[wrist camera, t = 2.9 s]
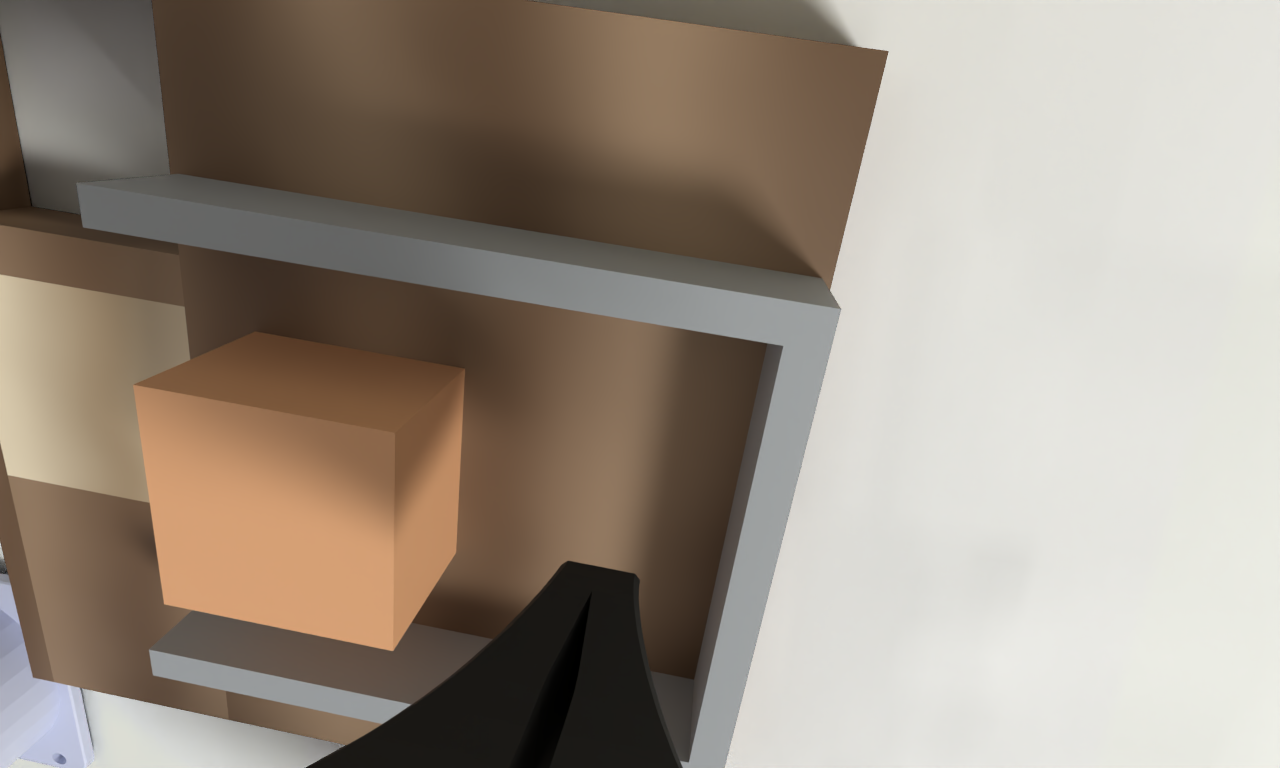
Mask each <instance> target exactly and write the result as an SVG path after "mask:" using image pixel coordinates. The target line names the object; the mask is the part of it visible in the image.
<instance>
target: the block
mask: <svg viewBox="0 0 1280 768" xmlns="http://www.w3.org/2000/svg"><path fill="white" fill-rule="evenodd" d="M464 380H465V368H459V367H453V366H448V365H442V364H436V363H431V362H425V361H419V360H414V359H408V358H402V357H397V356H391V355H385V354H380V353H374V352H368V351H363V350H357V349H351V348H346V347H340V346H334V345H329V344H323V343H317V342H312V341H306V340H300V339H295V338H289V337H283V336H278V335H272V334H266V333H261V332H253V333H251V334H248V335H246V336H244V337H242V338H239V339H237V340H235V341H232V342H230V343H228V344H225V345H223V346H221V347H219V348H216V349H214V350H212V351H209V352H207V353H205V354H203V355H200V356H198V357H196V358H193V359H191V360H189V361H186V362H184V363H182V364H180V365H177V366H175V367H173V368H170V369H168V370H166V371H163V372H161V373H159V374H157V375H154V376H152V377H150V378H147V379H145V380H143V381H140V382H138V383H136V384H134V385H133V388H134V395H135V402H136V409H137V417H138V424H139V431H140V438H141V445H142V452H143V459H144V466H145V473H146V480H147V487H148V494H149V501H150V508H151V515H152V522H153V529H154V536H155V544H156V551H157V558H158V565H159V572H160V579H161V586H162V593H163V600H164V604H165V605H170V606H175V607H180V608H185V609H190V610H195V611H199V612H204V613H209V614H214V615H219V616H224V617H229V618H234V619H238V620H243V621H248V622H253V623H258V624H263V625H268V626H273V627H278V628H282V629H287V630H292V631H297V632H302V633H307V634H312V635H317V636H321V637H326V638H331V639H336V640H341V641H346V642H351V643H356V644H360V645H365V646H370V647H375V648H380V649H385V650H390V651H394V649H395V647H396V646H397V644H398V643H399V641H400V640H401V638H402V636H403V635H404V633H405V632H406V630H407V629H408V627H409V626H410V624H411V622H412V621H413V619H414V618H415V616H416V615H417V613H418V611H419V610H420V608H421V607H422V605H423V604H424V602H425V601H426V599H427V597H428V596H429V594H430V593H431V591H432V590H433V588H434V586H435V585H436V583H437V582H438V580H439V579H440V577H441V576H442V574H443V572H444V571H445V569H446V568H447V566H448V565H449V563H450V561H451V560H452V558H453V557H454V555H455V554H456V544H457V524H458V503H459V483H460V462H461V442H462V421H463V401H464Z"/></svg>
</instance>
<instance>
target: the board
mask: <svg viewBox="0 0 1280 768" xmlns="http://www.w3.org/2000/svg"><path fill="white" fill-rule="evenodd" d="M152 9H153V18H154V27H155V37H156V46H157V55H158V64H159V74H160V83H161V92H162V102H163V111H164V120H165V130H166V139H167V148H168V158H169V167H170V175H171V174H183V175H189V176H196V177H202V178H208V179H214V180H220V181H226V182H232V183H239V184H245V185H251V186H257V187H263V188H269V189H276V190H282V191H288V192H294V193H300V194H306V195H313V196H319V197H325V198H331V199H337V200H343V201H349V202H356V203H362V204H368V205H374V206H380V207H386V208H393V209H399V210H405V211H411V212H417V213H423V214H429V215H436V216H442V217H448V218H454V219H460V220H466V221H473V222H479V223H485V224H491V225H497V226H503V227H509V228H516V229H522V230H528V231H534V232H540V233H546V234H553V235H559V236H565V237H571V238H577V239H583V240H589V241H596V242H602V243H608V244H614V245H620V246H626V247H633V248H639V249H645V250H651V251H657V252H663V253H669V254H676V255H682V256H688V257H694V258H700V259H706V260H713V261H719V262H725V263H731V264H737V265H743V266H749V267H756V268H762V269H768V270H774V271H780V272H786V273H793V274H799V275H805V276H811V277H817V278H823V280H824V282H825V283H826V285H827V287H828V288H829V290H830V288H831V284H832V279H833V275H834V271H835V267H836V263H837V259H838V255H839V251H840V247H841V243H842V239H843V235H844V231H845V227H846V222H847V218H848V214H849V210H850V206H851V202H852V198H853V194H854V190H855V186H856V182H857V178H858V174H859V169H860V165H861V161H862V157H863V153H864V149H865V145H866V141H867V137H868V133H869V129H870V125H871V121H872V117H873V112H874V108H875V104H876V100H877V96H878V92H879V88H880V84H881V80H882V76H883V72H884V68H885V64H886V59H887V55H888V51H883V50H876V49H869V48H862V47H854V46H847V45H840V44H833V43H826V42H819V41H812V40H805V39H798V38H791V37H783V36H776V35H769V34H762V33H755V32H748V31H741V30H734V29H727V28H719V27H712V26H705V25H698V24H691V23H684V22H677V21H670V20H663V19H655V18H648V17H641V16H634V15H627V14H620V13H613V12H606V11H599V10H592V9H584V8H577V7H570V6H563V5H556V4H549V3H542V2H535V1H528V0H152ZM253 332H261V333H266V334H272V335H278V336H283V337H289V338H295V339H300V340H306V341H312V342H317V343H323V344H329V345H334V346H340V347H346V348H351V349H357V350H363V351H368V352H374V353H380V354H385V355H391V356H397V357H402V358H408V359H414V360H419V361H425V362H431V363H436V364H442V365H448V366H453V367H459V368H465V380H464V401H463V421H462V442H461V462H460V483H459V503H458V524H457V544H456V554H455V555H454V557H453V558H452V560H451V561H450V563H449V565H448V566H447V568H446V569H445V571H444V572H443V574H442V576H441V577H440V579H439V580H438V582H437V583H436V585H435V586H434V588H433V590H432V591H431V593H430V594H429V596H428V597H427V599H426V601H425V602H424V604H423V605H422V607H421V608H420V610H419V611H418V613H417V615H416V616H415V618H414V619H413V621H412V622H411V623H415V624H420V625H425V626H430V627H435V628H440V629H445V630H450V631H455V632H460V633H465V634H470V635H475V636H479V637H484V638H489V639H494V638H495V637H496V636H497V635H498V634H499V633H500V632H501V631H502V630H503V629H504V628H505V627H506V626H507V625H508V624H509V623H510V622H511V621H512V620H513V619H514V618H515V617H516V616H517V615H518V614H519V613H520V612H521V611H522V610H523V609H524V608H525V607H526V606H527V605H528V604H529V603H530V602H531V601H532V600H533V598H534V597H535V596H536V595H537V594H538V593H539V592H540V591H541V590H542V588H543V587H544V586H545V585H546V584H547V582H548V581H549V580H550V579H551V578H552V576H553V575H554V574H555V573H556V571H557V570H558V569H559V567H560V566H561V565H562V564H563V563H565V562H567V561H573V562H579V563H584V564H589V565H594V566H599V567H604V568H609V569H614V570H619V571H624V572H630V573H635V574H636V575H637V577H638V578H639V579H640V584H639V609H640V618H641V627H642V633H643V639H644V644H645V649H646V653H647V658H648V663H649V667H650V671H653V672H658V673H663V674H668V675H673V676H678V677H683V678H688V679H693V680H694V678H695V673H696V669H697V664H698V660H699V655H700V651H701V646H702V641H703V637H704V632H705V628H706V623H707V618H708V614H709V609H710V605H711V600H712V595H713V591H714V586H715V582H716V577H717V572H718V568H719V563H720V559H721V554H722V549H723V545H724V540H725V536H726V531H727V527H728V522H729V517H730V513H731V508H732V504H733V499H734V494H735V490H736V485H737V481H738V476H739V471H740V467H741V462H742V458H743V453H744V448H745V444H746V439H747V435H748V430H749V425H750V421H751V416H752V412H753V407H754V403H755V398H756V393H757V389H758V384H759V380H760V375H761V370H762V366H763V361H764V357H765V352H766V347H767V343H763V342H757V341H751V340H745V339H739V338H733V337H728V336H722V335H716V334H710V333H704V332H698V331H692V330H686V329H680V328H674V327H669V326H663V325H657V324H651V323H645V322H639V321H633V320H627V319H621V318H615V317H609V316H604V315H598V314H592V313H586V312H580V311H574V310H568V309H562V308H556V307H550V306H544V305H539V304H533V303H527V302H521V301H515V300H509V299H503V298H497V297H491V296H485V295H480V294H474V293H468V292H462V291H456V290H450V289H444V288H438V287H432V286H426V285H420V284H415V283H409V282H403V281H397V280H391V279H385V278H379V277H373V276H367V275H361V274H355V273H350V272H344V271H338V270H332V269H326V268H320V267H314V266H308V265H302V264H296V263H291V262H285V261H279V260H273V259H267V258H261V257H255V256H249V255H243V254H237V253H231V252H226V251H220V250H214V249H208V248H202V247H196V246H190V245H184V244H178V243H172V242H166V241H161V240H155V239H149V238H143V237H137V236H131V235H125V234H119V233H113V232H107V231H102V230H96V229H90V228H84V227H83V225H82V218H81V215H79V214H73V213H67V212H61V211H55V210H49V209H43V208H37V207H31V201H30V196H29V190H28V185H27V179H26V174H25V168H24V163H23V157H22V152H21V146H20V141H19V135H18V130H17V124H16V119H15V113H14V108H13V102H12V97H11V91H10V86H9V80H8V75H7V69H6V64H5V58H4V53H3V47H2V42H1V36H0V542H1V546H2V551H3V555H4V559H5V563H6V567H7V571H8V576H9V580H10V584H11V588H12V592H13V597H14V601H15V605H16V609H17V613H18V617H19V622H20V626H21V630H22V634H23V638H24V642H25V647H26V651H27V655H28V659H29V663H30V667H31V672H32V676H33V678H37V679H42V680H46V681H51V682H56V683H60V684H65V685H70V686H74V687H79V688H83V689H88V690H93V691H97V692H102V693H107V694H111V695H116V696H121V697H125V698H130V699H135V700H139V701H144V702H149V703H153V704H158V705H163V706H167V707H172V708H177V709H181V710H186V711H191V712H195V713H200V714H204V715H209V716H214V717H218V718H223V719H228V720H232V721H237V722H242V723H246V724H251V725H256V726H260V727H265V728H270V729H274V730H279V731H284V732H288V733H293V734H298V735H302V736H307V737H312V738H316V739H321V740H325V741H330V742H335V743H339V744H344V745H347V744H349V743H351V742H353V741H355V740H356V739H358V738H360V737H362V736H364V735H365V734H367V733H369V732H370V731H372V730H373V729H375V728H377V727H378V726H380V725H381V724H380V723H375V722H371V721H366V720H361V719H357V718H352V717H347V716H342V715H338V714H333V713H328V712H324V711H319V710H314V709H309V708H305V707H300V706H295V705H291V704H286V703H281V702H276V701H272V700H267V699H262V698H258V697H253V696H248V695H243V694H239V693H234V692H229V691H225V690H220V689H215V688H210V687H206V686H201V685H196V684H192V683H187V682H182V681H177V680H173V679H168V678H163V677H159V676H154V675H153V672H152V666H151V659H150V653H149V649H150V648H151V647H152V646H153V645H154V644H156V643H157V642H158V641H159V640H160V639H161V638H162V637H163V636H164V635H166V634H167V633H168V632H169V631H170V630H171V629H172V628H173V627H174V626H176V625H177V624H178V623H179V622H180V621H181V620H182V619H183V618H184V617H185V616H187V615H188V614H189V613H190V612H191V611H192V610H190V609H185V608H180V607H175V606H170V605H165V604H164V600H163V593H162V586H161V579H160V572H159V565H158V558H157V551H156V544H155V536H154V529H153V522H152V515H151V508H150V501H149V494H148V487H147V480H146V473H145V466H144V459H143V452H142V445H141V438H140V431H139V424H138V417H137V409H136V402H135V395H134V388H133V385H134V384H136V383H138V382H140V381H143V380H145V379H147V378H150V377H152V376H154V375H157V374H159V373H161V372H163V371H166V370H168V369H170V368H173V367H175V366H177V365H180V364H182V363H184V362H186V361H189V360H191V359H193V358H196V357H198V356H200V355H203V354H205V353H207V352H209V351H212V350H214V349H216V348H219V347H221V346H223V345H225V344H228V343H230V342H232V341H235V340H237V339H239V338H242V337H244V336H246V335H248V334H251V333H253Z"/></svg>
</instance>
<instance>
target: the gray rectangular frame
mask: <svg viewBox="0 0 1280 768" xmlns="http://www.w3.org/2000/svg"><path fill="white" fill-rule="evenodd" d="M76 186H77V193H78V199H79V205H80V212H81V218H82V225H83V227H84V228H90V229H96V230H102V231H107V232H113V233H119V234H125V235H131V236H137V237H143V238H149V239H155V240H161V241H166V242H172V243H178V244H184V245H190V246H196V247H202V248H208V249H214V250H220V251H226V252H231V253H237V254H243V255H249V256H255V257H261V258H267V259H273V260H279V261H285V262H291V263H296V264H302V265H308V266H314V267H320V268H326V269H332V270H338V271H344V272H350V273H355V274H361V275H367V276H373V277H379V278H385V279H391V280H397V281H403V282H409V283H415V284H420V285H426V286H432V287H438V288H444V289H450V290H456V291H462V292H468V293H474V294H480V295H485V296H491V297H497V298H503V299H509V300H515V301H521V302H527V303H533V304H539V305H544V306H550V307H556V308H562V309H568V310H574V311H580V312H586V313H592V314H598V315H604V316H609V317H615V318H621V319H627V320H633V321H639V322H645V323H651V324H657V325H663V326H669V327H674V328H680V329H686V330H692V331H698V332H704V333H710V334H716V335H722V336H728V337H733V338H739V339H745V340H751V341H757V342H763V343H767V347H766V352H765V357H764V361H763V366H762V370H761V375H760V380H759V384H758V389H757V393H756V398H755V403H754V407H753V412H752V416H751V421H750V425H749V430H748V435H747V439H746V444H745V448H744V453H743V458H742V462H741V467H740V471H739V476H738V481H737V485H736V490H735V494H734V499H733V504H732V508H731V513H730V517H729V522H728V527H727V531H726V536H725V540H724V545H723V549H722V554H721V559H720V563H719V568H718V572H717V577H716V582H715V586H714V591H713V595H712V600H711V605H710V609H709V614H708V618H707V623H706V628H705V632H704V637H703V641H702V646H701V651H700V655H699V660H698V664H697V669H696V673H695V678H694V680H693V679H688V678H683V677H678V676H673V675H668V674H663V673H658V672H653V671H651V675H652V679H653V683H654V687H655V690H656V694H657V697H658V700H659V704H660V707H661V710H662V713H663V716H664V720H665V722H666V725H667V728H668V731H669V734H670V736H671V739H672V742H673V744H674V747H675V750H676V752H677V755H678V757H679V760H680V762H681V764H682V767H683V768H725V764H726V760H727V756H728V752H729V748H730V744H731V740H732V736H733V732H734V728H735V724H736V720H737V717H738V713H739V709H740V705H741V701H742V697H743V693H744V689H745V685H746V681H747V677H748V673H749V669H750V665H751V661H752V658H753V654H754V650H755V646H756V642H757V638H758V634H759V630H760V626H761V622H762V618H763V614H764V610H765V606H766V602H767V599H768V595H769V591H770V587H771V583H772V579H773V575H774V571H775V567H776V563H777V559H778V555H779V551H780V547H781V543H782V540H783V536H784V532H785V528H786V524H787V520H788V516H789V512H790V508H791V504H792V500H793V496H794V492H795V488H796V484H797V481H798V477H799V473H800V469H801V465H802V461H803V457H804V453H805V449H806V445H807V441H808V437H809V433H810V429H811V425H812V422H813V418H814V414H815V410H816V406H817V402H818V398H819V394H820V390H821V386H822V382H823V378H824V374H825V370H826V366H827V363H828V359H829V355H830V351H831V347H832V343H833V339H834V335H835V331H836V327H837V323H838V319H839V315H840V311H841V308H840V307H839V305H838V303H837V302H836V300H835V298H834V297H833V295H832V293H831V292H830V290H829V288H828V287H827V285H826V283H825V282H824V280H823V278H817V277H811V276H805V275H799V274H793V273H786V272H780V271H774V270H768V269H762V268H756V267H749V266H743V265H737V264H731V263H725V262H719V261H713V260H706V259H700V258H694V257H688V256H682V255H676V254H669V253H663V252H657V251H651V250H645V249H639V248H633V247H626V246H620V245H614V244H608V243H602V242H596V241H589V240H583V239H577V238H571V237H565V236H559V235H553V234H546V233H540V232H534V231H528V230H522V229H516V228H509V227H503V226H497V225H491V224H485V223H479V222H473V221H466V220H460V219H454V218H448V217H442V216H436V215H429V214H423V213H417V212H411V211H405V210H399V209H393V208H386V207H380V206H374V205H368V204H362V203H356V202H349V201H343V200H337V199H331V198H325V197H319V196H313V195H306V194H300V193H294V192H288V191H282V190H276V189H269V188H263V187H257V186H251V185H245V184H239V183H232V182H226V181H220V180H214V179H208V178H202V177H196V176H189V175H183V174H171V175H159V176H148V177H137V178H126V179H114V180H103V181H92V182H80V183H76ZM492 640H493V639H489V638H484V637H479V636H475V635H470V634H465V633H460V632H455V631H450V630H445V629H440V628H435V627H430V626H425V625H420V624H415V623H411V624H410V626H409V627H408V629H407V630H406V632H405V633H404V635H403V636H402V638H401V640H400V641H399V643H398V644H397V646H396V647H395V649H394V651H390V650H385V649H380V648H375V647H370V646H365V645H360V644H356V643H351V642H346V641H341V640H336V639H331V638H326V637H321V636H317V635H312V634H307V633H302V632H297V631H292V630H287V629H282V628H278V627H273V626H268V625H263V624H258V623H253V622H248V621H243V620H238V619H234V618H229V617H224V616H219V615H214V614H209V613H204V612H199V611H195V610H192V611H191V612H190V613H189V614H188V615H187V616H185V617H184V618H183V619H182V620H181V621H180V622H179V623H178V624H177V625H176V626H174V627H173V628H172V629H171V630H170V631H169V632H168V633H167V634H166V635H164V636H163V637H162V638H161V639H160V640H159V641H158V642H157V643H156V644H154V645H153V646H152V647H151V648H150V649H149V653H150V659H151V666H152V672H153V675H154V676H159V677H163V678H168V679H173V680H177V681H182V682H187V683H192V684H196V685H201V686H206V687H210V688H215V689H220V690H225V691H229V692H234V693H239V694H243V695H248V696H253V697H258V698H262V699H267V700H272V701H276V702H281V703H286V704H291V705H295V706H300V707H305V708H309V709H314V710H319V711H324V712H328V713H333V714H338V715H342V716H347V717H352V718H357V719H361V720H366V721H371V722H375V723H380V724H383V723H385V722H386V721H388V720H389V719H391V718H392V717H394V716H395V715H397V714H398V713H400V712H401V711H403V710H404V709H406V708H407V707H409V706H410V705H412V704H413V703H414V702H416V701H417V700H419V699H420V698H422V697H423V696H425V695H426V694H427V693H429V692H430V691H431V690H433V689H434V688H435V687H437V686H438V685H439V684H441V683H442V682H443V681H445V680H446V679H447V678H448V677H450V676H451V675H452V674H453V673H455V672H456V671H457V670H458V669H460V668H461V667H462V666H463V665H464V664H466V663H467V662H468V661H469V660H470V659H471V658H473V657H474V656H475V655H476V654H477V653H478V652H479V651H480V650H481V649H483V648H484V647H485V646H486V645H487V644H488V643H489V642H490V641H492Z"/></svg>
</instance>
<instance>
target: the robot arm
mask: <svg viewBox="0 0 1280 768" xmlns="http://www.w3.org/2000/svg"><path fill="white" fill-rule="evenodd" d="M639 584H640V579H639V578H638V577H637V575H636V574H635V573H630V572H624V571H619V570H614V569H609V568H604V567H599V566H594V565H589V564H584V563H579V562H573V561H567V562H565V563H563V564H562V565H561V566H560V567H559V569H558V570H557V571H556V573H555V574H554V575H553V576H552V578H551V579H550V580H549V581H548V582H547V584H546V585H545V586H544V587H543V588H542V590H541V591H540V592H539V593H538V594H537V595H536V596H535V597H534V598H533V600H532V601H531V602H530V603H529V604H528V605H527V606H526V607H525V608H524V609H523V610H522V611H521V612H520V613H519V614H518V615H517V616H516V617H515V618H514V619H513V620H512V621H511V622H510V623H509V624H508V625H507V626H506V627H505V628H504V629H503V630H502V631H501V632H500V633H499V634H498V635H497V636H496V637H495V638H494V639H493V640H492V641H490V642H489V643H488V644H487V645H486V646H485V647H484V648H483V649H481V650H480V651H479V652H478V653H477V654H476V655H475V656H474V657H473V658H471V659H470V660H469V661H468V662H467V663H466V664H464V665H463V666H462V667H461V668H460V669H458V670H457V671H456V672H455V673H453V674H452V675H451V676H450V677H448V678H447V679H446V680H445V681H443V682H442V683H441V684H439V685H438V686H437V687H435V688H434V689H433V690H431V691H430V692H429V693H427V694H426V695H425V696H423V697H422V698H420V699H419V700H417V701H416V702H414V703H413V704H412V705H410V706H409V707H407V708H406V709H404V710H403V711H401V712H400V713H398V714H397V715H395V716H394V717H392V718H391V719H389V720H388V721H386V722H385V723H383V724H381V725H380V726H378V727H377V728H375V729H373V730H372V731H370V732H369V733H367V734H365V735H364V736H362V737H360V738H358V739H356V740H355V741H353V742H351V743H349V744H347V745H346V746H344V747H342V748H340V749H338V750H337V751H335V752H333V753H331V754H329V755H328V756H326V757H324V758H322V759H320V760H319V761H317V762H315V763H313V764H311V765H309V766H308V767H306V768H683V767H682V764H681V762H680V760H679V757H678V755H677V752H676V750H675V747H674V744H673V742H672V739H671V736H670V734H669V731H668V728H667V725H666V722H665V720H664V716H663V713H662V710H661V707H660V704H659V700H658V697H657V694H656V690H655V687H654V683H653V679H652V675H651V671H650V667H649V663H648V658H647V653H646V649H645V644H644V639H643V633H642V627H641V618H640V609H639ZM18 758H19V759H24V760H28V761H33V762H37V763H42V764H46V765H51V766H55V767H60V768H87V767H88V766H89V765H90V764H91V763H92V762H93V761H94V752H93V747H92V742H91V737H90V732H89V728H88V723H87V718H86V713H85V708H84V704H83V699H82V694H81V689H80V688H79V687H74V686H70V685H65V684H60V683H56V682H51V681H46V680H42V679H37V678H33V676H32V672H31V667H30V663H29V659H28V655H27V651H26V647H25V642H24V638H23V634H22V630H21V626H20V622H19V617H18V613H17V609H16V605H15V601H14V597H13V592H12V588H11V584H10V580H9V576H8V575H7V574H2V573H0V768H8V767H9V766H10V765H11V764H12V763H13V762H14V761H16V760H17V759H18Z"/></svg>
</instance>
